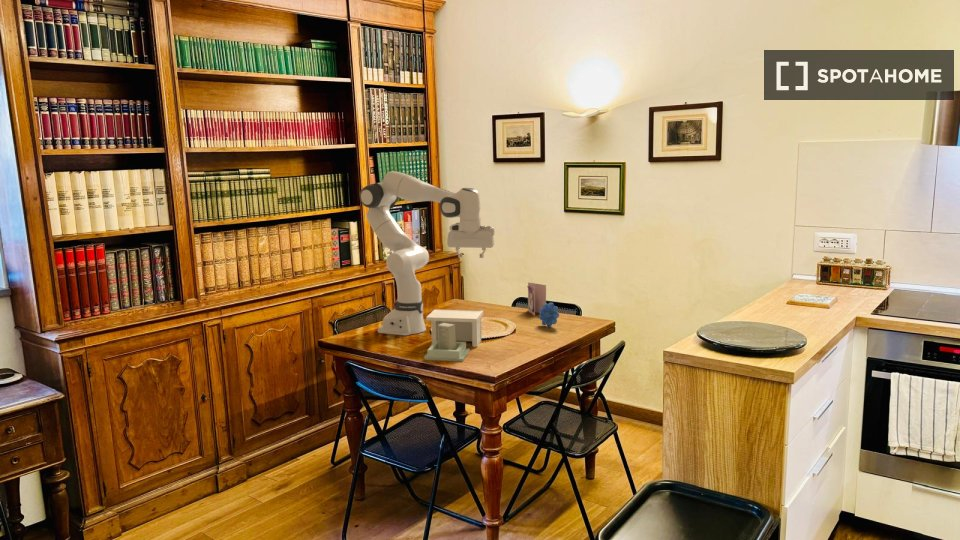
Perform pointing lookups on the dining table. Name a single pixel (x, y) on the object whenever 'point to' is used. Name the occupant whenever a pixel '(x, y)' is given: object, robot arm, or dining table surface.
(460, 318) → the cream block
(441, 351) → the green drawer
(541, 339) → the dining table surface
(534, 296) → the greeting card
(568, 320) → the dining table surface
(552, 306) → the grapes
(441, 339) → the skincare box
